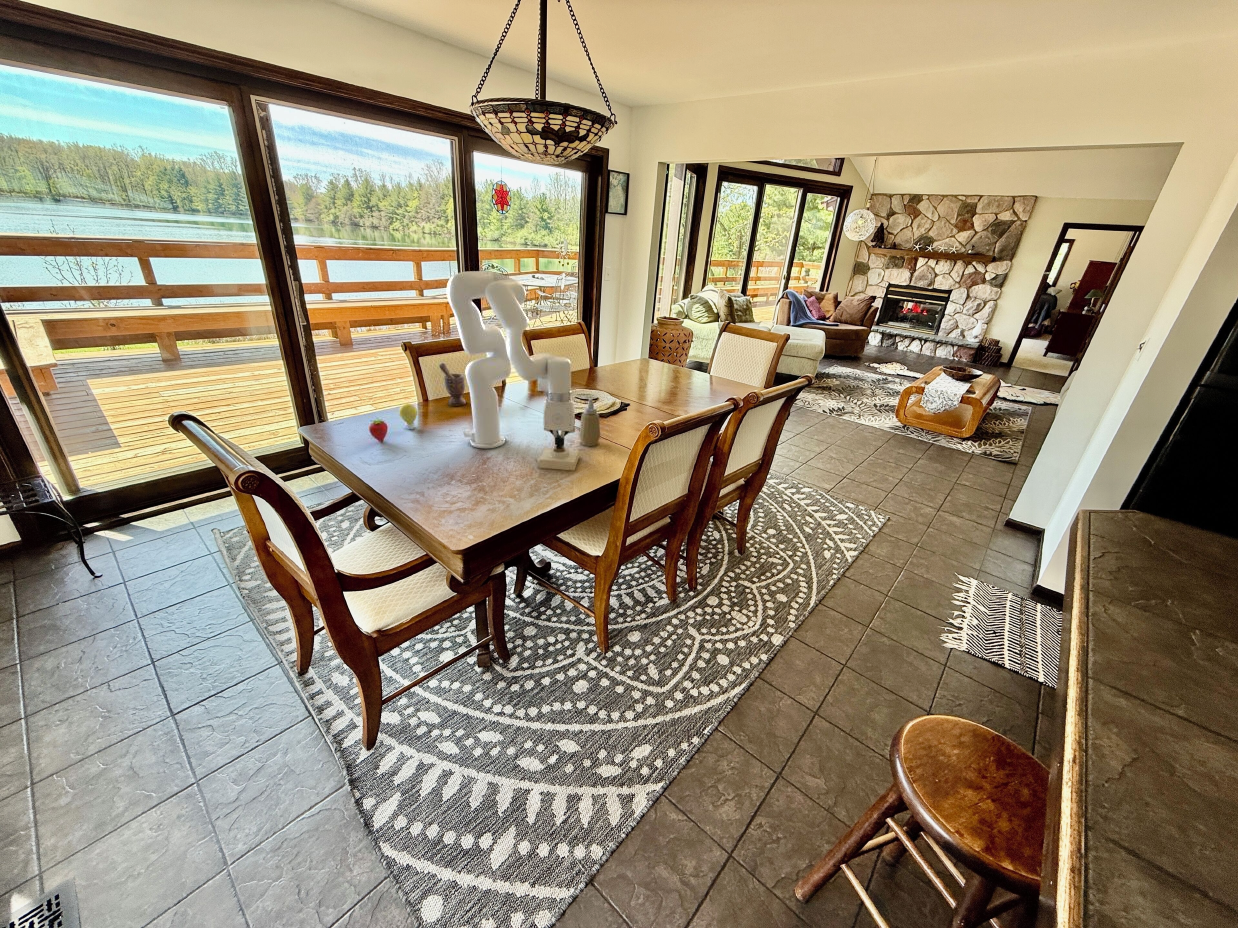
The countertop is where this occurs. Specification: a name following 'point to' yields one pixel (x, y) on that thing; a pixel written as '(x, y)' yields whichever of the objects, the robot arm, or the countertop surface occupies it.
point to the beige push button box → (559, 459)
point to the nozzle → (559, 449)
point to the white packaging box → (543, 384)
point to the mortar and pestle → (454, 386)
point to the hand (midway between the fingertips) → (559, 447)
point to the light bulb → (408, 414)
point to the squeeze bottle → (590, 425)
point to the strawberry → (378, 429)
